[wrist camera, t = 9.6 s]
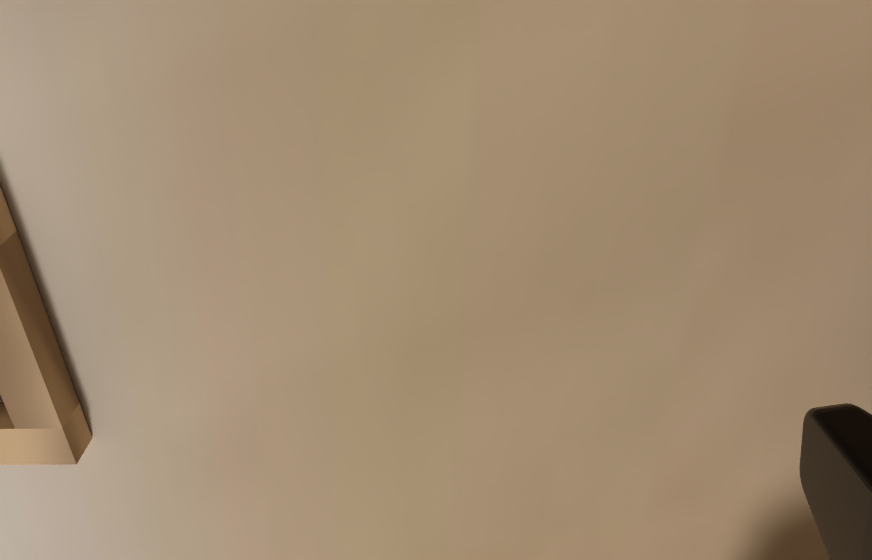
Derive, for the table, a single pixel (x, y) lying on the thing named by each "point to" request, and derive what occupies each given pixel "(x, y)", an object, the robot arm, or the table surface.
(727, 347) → the table surface
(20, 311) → the square wooden frame
